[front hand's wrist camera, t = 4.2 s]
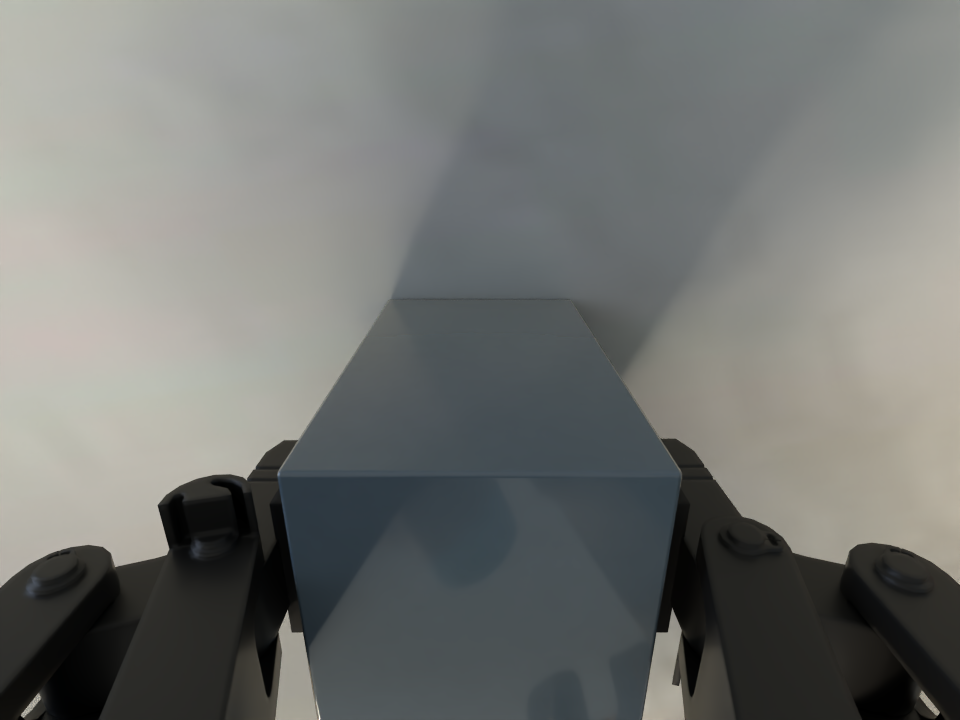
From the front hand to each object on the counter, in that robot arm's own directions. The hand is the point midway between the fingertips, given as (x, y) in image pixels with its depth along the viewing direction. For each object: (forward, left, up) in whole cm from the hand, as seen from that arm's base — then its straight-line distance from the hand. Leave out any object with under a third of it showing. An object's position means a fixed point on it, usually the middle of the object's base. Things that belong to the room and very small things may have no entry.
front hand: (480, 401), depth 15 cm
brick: (0, 0, -1) cm, 1 cm away
